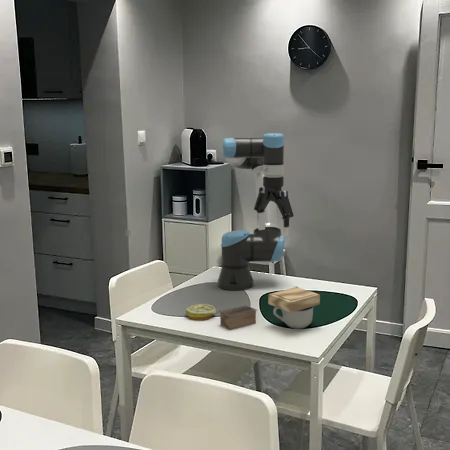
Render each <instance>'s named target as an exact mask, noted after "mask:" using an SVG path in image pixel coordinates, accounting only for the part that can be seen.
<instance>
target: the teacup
mask: <svg viewBox="0 0 450 450" xmlns="http://www.w3.org/2000/svg"><path fill="white" fill-rule="evenodd" d="M273 307H274V308H273V310H272V312H273V313H272V314H273V315H274V316H275V317H276V318H277V319H279V320H281V322H283V323H284V324H286V325H287V326H288V327H289V328H291V329H297V330H302V329H305V328H307V327H308V326H310V324H311V323H312V321H313V316H314V307H315V306H312V307H309V308H305V309H302V310H298V311H295V312H292V313H291V312H288V311H285V310H283V309H280V308H278V307H275V306H273ZM278 309H280V310H281V314H282V316H281V315H279V314H278V313H277V310H278Z"/></svg>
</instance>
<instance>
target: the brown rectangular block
mask: <svg viewBox="0 0 450 450" xmlns="http://www.w3.org/2000/svg"><path fill="white" fill-rule="evenodd" d="M257 310H258V309H256V308H254V307H252V306H249V305H247V304H244V305H241V306H235V307H232V308H228V309H223V310H219V313H220V315H219V316H220V326H223V327H224V328H226V329H228V330H230V331H231V330H235V329H239V328H243V327H246V326H250V325H254V324H256V323H257V317H256V316H257Z"/></svg>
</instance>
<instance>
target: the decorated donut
mask: <svg viewBox="0 0 450 450" xmlns="http://www.w3.org/2000/svg"><path fill="white" fill-rule="evenodd" d="M185 314H186V315H187V317H188V318H189V319H191V320H195V321H201V320H202V321H203V320H204V321H205V320H208V319H210V318H212V317H213V316H215V315H216V308H215V307H214V306H213V305H211V304H210V303H209V304H208V303H195V304H191V305H188V306H187V308H186V309H185Z"/></svg>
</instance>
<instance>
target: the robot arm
mask: <svg viewBox="0 0 450 450" xmlns="http://www.w3.org/2000/svg"><path fill="white" fill-rule="evenodd" d="M284 137H285V136H284V134H283V133H275V132H274V133H273V132H271V133H270V132H269V133H265V134H263V137H226V138H223V140H222V157H224V160H225V162H226V163H227V164H228V165H229V166H231V167H233V168H236V169H241V170H251V174H252V175H253V176H254V180H255V204H254V207H253V210H254V211H256V227H255V228H254V229H253V233H250V232H249V230H246V229H244V230H243V229H238V230H237V229H235V230H231V231H228V232H225V233H224V234H222V236H221V244H220V247H221V269H220V272H219V276H218V279H217V287H218V288H220V289H223V290H225V291H243V290H244V291H245V290H248V289H251V288H253V286H254V279H253V276H252V273H251V270H250V262H254V263H255V262H271V263H272V262H280V261H281V260H282V258H283V257H284V251H285V241H286V238H285V237H287V236H289V227H290V219H291V218H294V212H293V208H292V205H291V203H290V202H291V201H290V199H289V192H288V190H282V188H283V186H284V185H285V184H284V174H285V173H284V171H285V170H284V169H285V168H284V166H285V165H284V157H285V155H284V152H285V151H284V150H285V138H284ZM277 208H278V210H279V212H280V215H281V223H280V224H281V225H280V227H281V228H280V227H279V226H278V216H277Z"/></svg>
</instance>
